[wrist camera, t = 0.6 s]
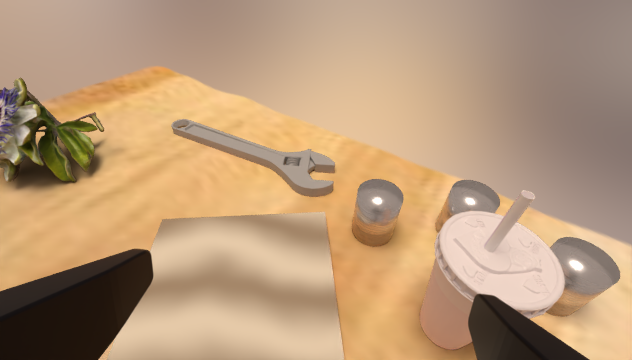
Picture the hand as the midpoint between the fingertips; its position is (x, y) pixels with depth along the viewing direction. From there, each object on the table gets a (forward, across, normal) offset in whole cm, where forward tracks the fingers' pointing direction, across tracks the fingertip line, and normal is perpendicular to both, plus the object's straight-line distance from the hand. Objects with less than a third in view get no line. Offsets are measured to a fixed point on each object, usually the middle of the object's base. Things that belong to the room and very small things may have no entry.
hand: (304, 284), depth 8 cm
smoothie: (+13, -10, +12) cm, 20 cm away
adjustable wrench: (+30, +11, +4) cm, 32 cm away
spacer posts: (+20, -12, +8) cm, 25 cm away
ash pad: (+12, +7, +12) cm, 18 cm away
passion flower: (+25, +34, +6) cm, 43 cm away
